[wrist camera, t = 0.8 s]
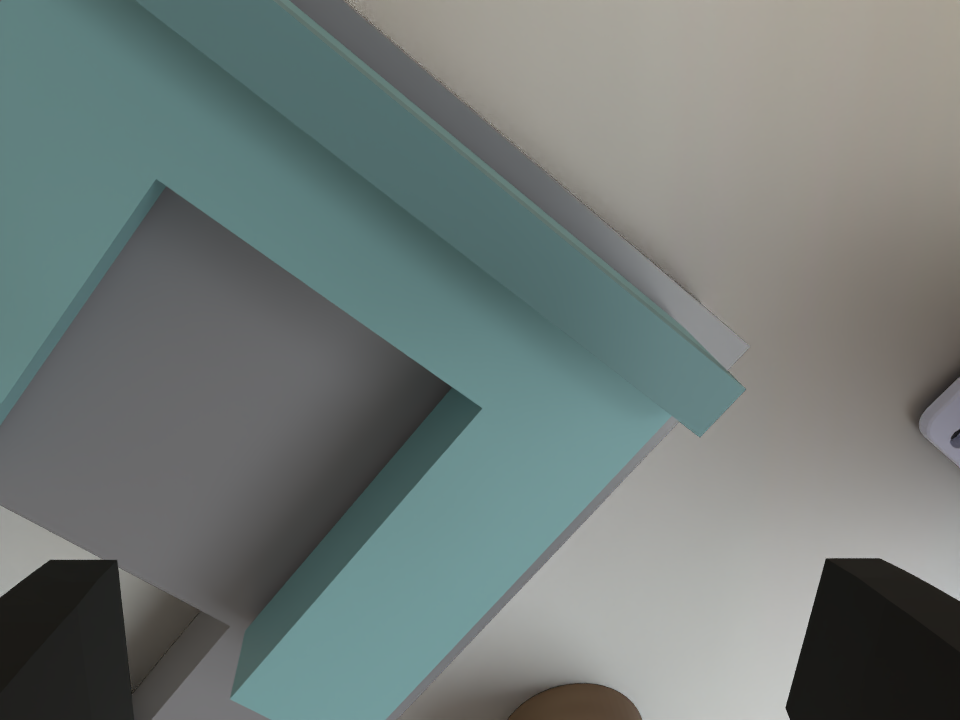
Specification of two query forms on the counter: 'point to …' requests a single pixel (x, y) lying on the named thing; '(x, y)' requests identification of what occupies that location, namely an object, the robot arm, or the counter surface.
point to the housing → (254, 406)
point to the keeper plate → (342, 307)
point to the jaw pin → (577, 704)
